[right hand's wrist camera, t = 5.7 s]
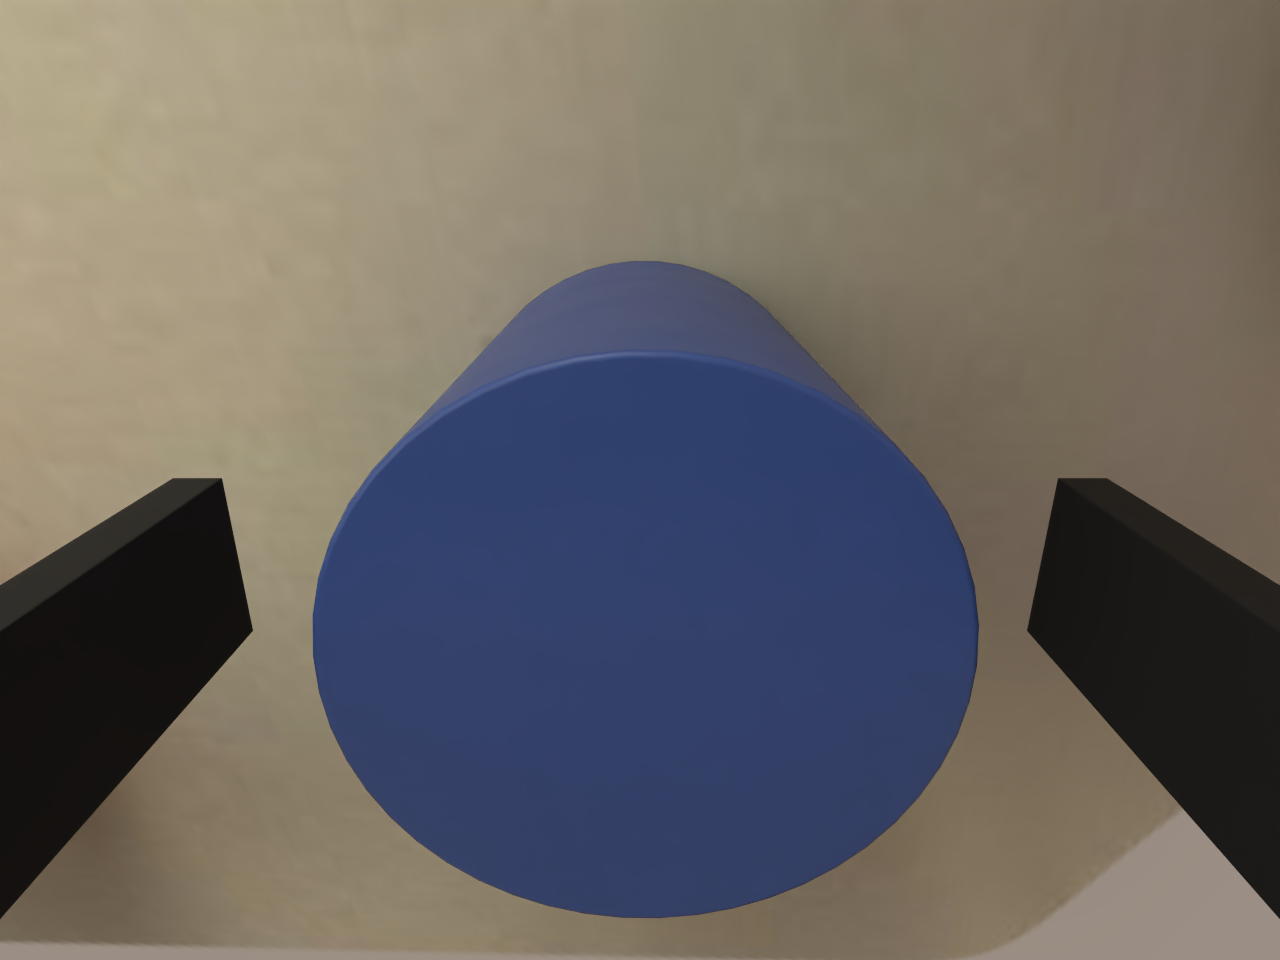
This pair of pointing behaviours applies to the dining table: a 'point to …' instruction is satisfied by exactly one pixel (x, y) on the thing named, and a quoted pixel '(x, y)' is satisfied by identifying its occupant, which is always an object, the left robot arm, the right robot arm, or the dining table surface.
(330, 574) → the canister
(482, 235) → the dining table surface
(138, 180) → the dining table surface
